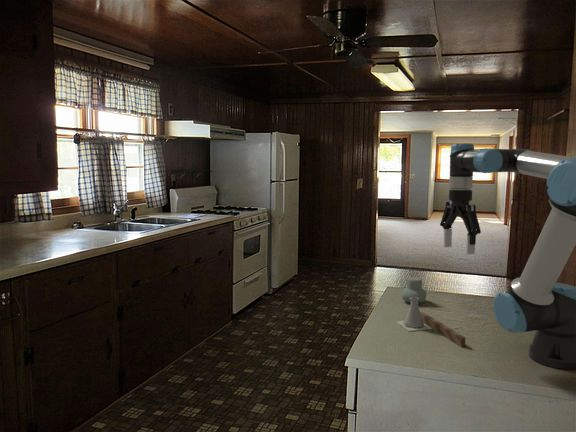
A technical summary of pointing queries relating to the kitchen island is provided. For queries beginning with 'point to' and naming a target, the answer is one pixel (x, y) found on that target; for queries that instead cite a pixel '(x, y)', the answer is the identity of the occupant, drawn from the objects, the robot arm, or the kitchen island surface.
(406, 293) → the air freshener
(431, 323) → the rail
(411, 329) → the board
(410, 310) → the flask
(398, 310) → the kitchen island surface
